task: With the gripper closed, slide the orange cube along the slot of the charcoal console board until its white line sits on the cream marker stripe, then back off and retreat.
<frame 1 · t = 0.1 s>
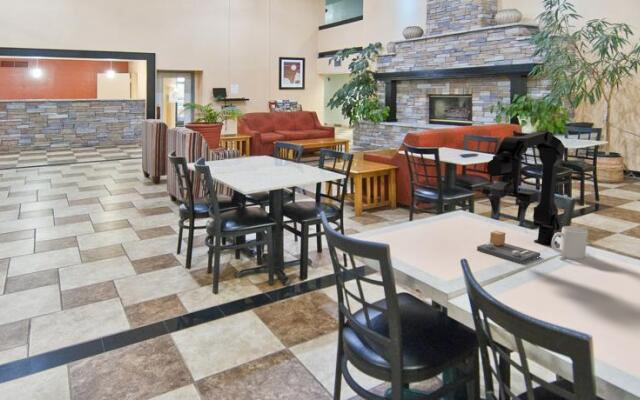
hand: (506, 217, 174), 15 cm above the table, fingers open, 9 cm apart
orange cube: (497, 238, 185), point 4 cm above the table, slide at -6.0 cm
cup: (566, 256, 178), on the table
console board: (507, 253, 180), on the table
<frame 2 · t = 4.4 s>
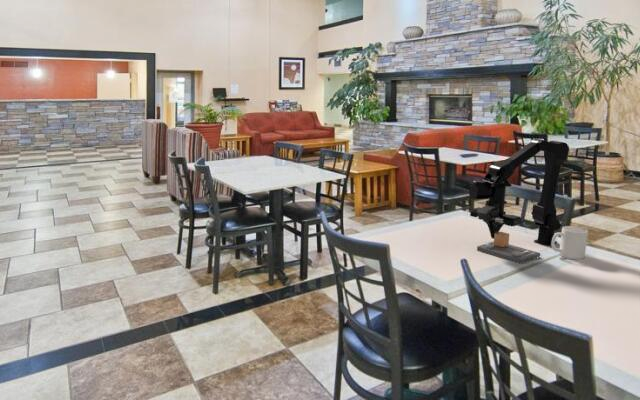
hand: (493, 238, 187), 3 cm above the table, fingers closed
orange cube: (501, 239, 184), point 4 cm above the table, slide at -4.4 cm, touching gripper
everything else where it was.
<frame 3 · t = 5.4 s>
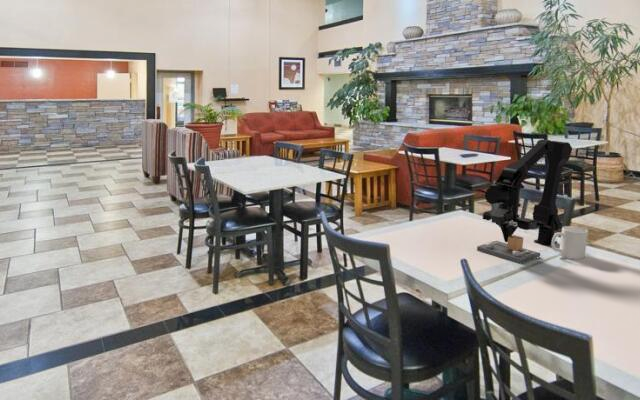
hand: (506, 242, 182), 3 cm above the table, fingers closed
orange cube: (515, 242, 179), point 4 cm above the table, slide at 1.3 cm, touching gripper
everything else where it was.
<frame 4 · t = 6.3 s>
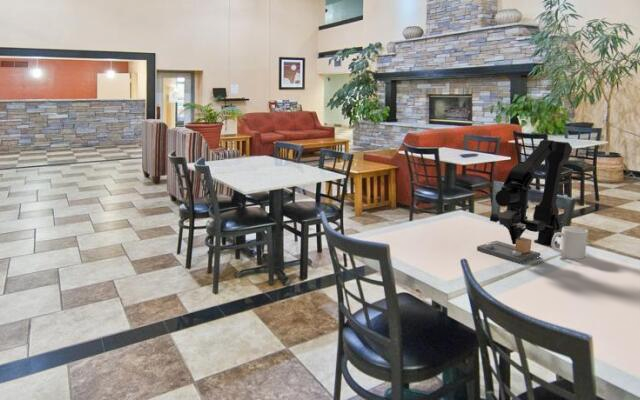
hand: (514, 244, 180), 3 cm above the table, fingers closed
orange cube: (523, 245, 177), point 4 cm above the table, slide at 4.5 cm, touching gripper
everything else where it was.
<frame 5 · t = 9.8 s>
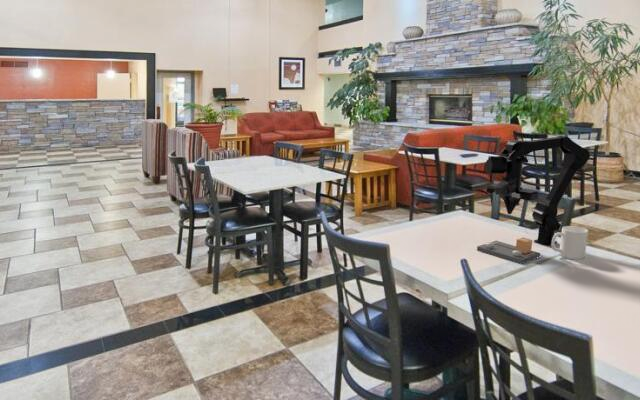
hand: (509, 213, 189), 12 cm above the table, fingers closed
orange cube: (523, 245, 177), point 4 cm above the table, slide at 4.7 cm
everything else where it was.
at the end: orange cube slide at 4.7 cm; orange cube touching nothing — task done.
